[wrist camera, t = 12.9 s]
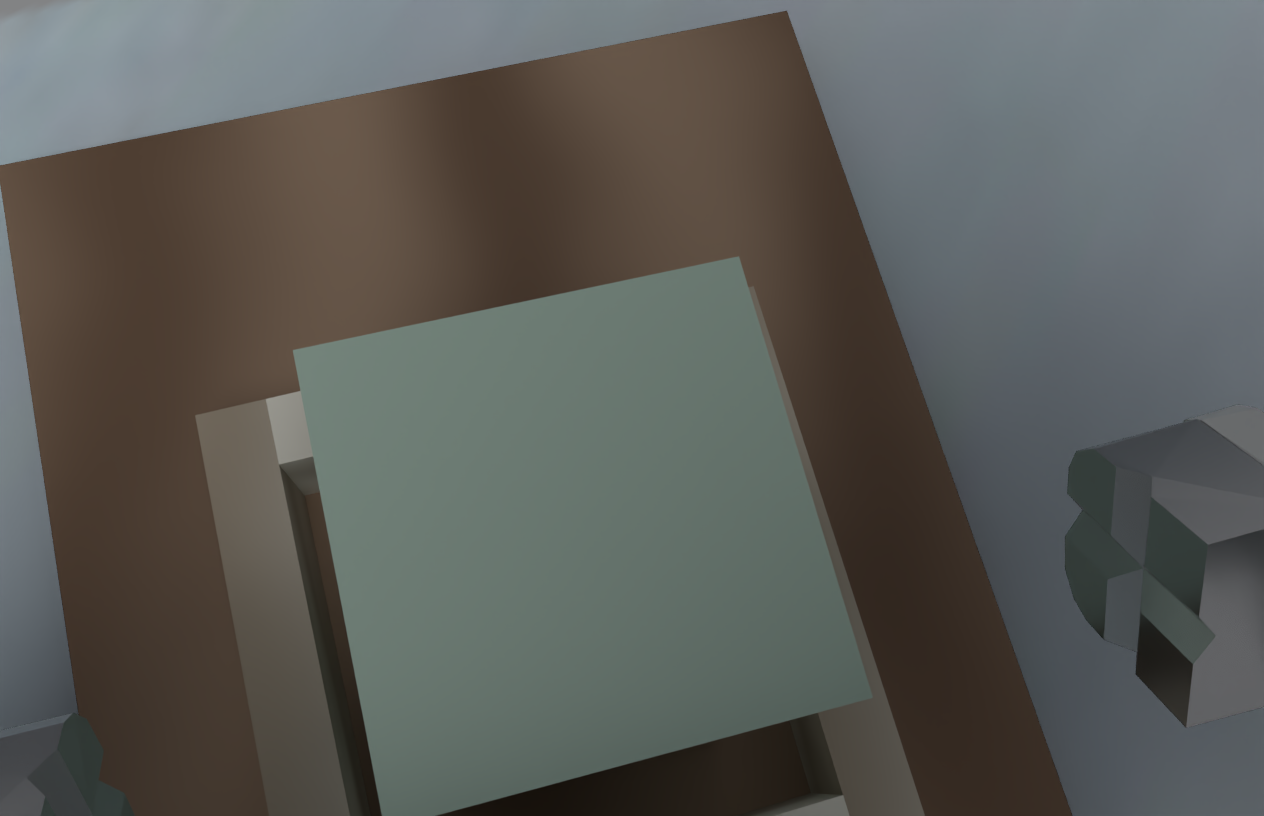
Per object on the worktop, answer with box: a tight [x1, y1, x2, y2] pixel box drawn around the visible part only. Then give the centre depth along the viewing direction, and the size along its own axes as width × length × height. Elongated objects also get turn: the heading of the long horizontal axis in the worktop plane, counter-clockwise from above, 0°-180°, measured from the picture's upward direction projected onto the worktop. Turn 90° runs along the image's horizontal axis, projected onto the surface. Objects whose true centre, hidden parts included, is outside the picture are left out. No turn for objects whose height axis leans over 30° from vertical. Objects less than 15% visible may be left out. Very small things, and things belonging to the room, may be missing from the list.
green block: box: [293, 256, 873, 816], centre depth 14 cm, size 4×4×9 cm
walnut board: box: [0, 11, 1072, 816], centre depth 18 cm, size 14×20×3 cm
